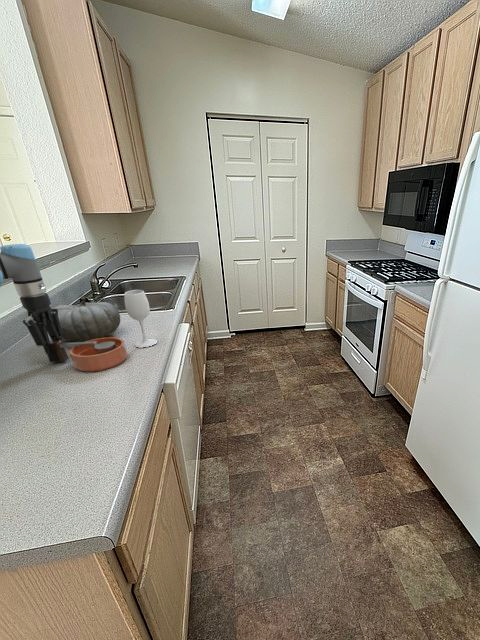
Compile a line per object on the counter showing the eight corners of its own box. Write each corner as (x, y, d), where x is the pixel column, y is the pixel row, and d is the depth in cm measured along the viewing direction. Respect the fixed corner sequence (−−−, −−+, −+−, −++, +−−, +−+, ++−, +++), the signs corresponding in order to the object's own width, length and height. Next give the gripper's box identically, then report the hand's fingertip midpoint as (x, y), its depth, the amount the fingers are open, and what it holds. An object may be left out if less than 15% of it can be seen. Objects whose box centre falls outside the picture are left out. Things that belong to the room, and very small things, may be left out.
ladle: (122, 353, 120) (116, 335, 117) (113, 361, 114) (106, 342, 111) (59, 356, 121) (51, 338, 118) (46, 364, 115) (38, 346, 112)
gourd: (93, 346, 124) (76, 300, 119) (40, 351, 130) (22, 308, 124) (136, 329, 147) (123, 290, 142) (90, 334, 153) (76, 297, 147)
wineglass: (134, 349, 127) (120, 296, 118) (134, 341, 134) (121, 290, 125) (158, 345, 130) (147, 293, 121) (157, 338, 138) (146, 288, 128)
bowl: (64, 372, 111) (58, 356, 108) (92, 352, 126) (87, 337, 123) (113, 372, 111) (108, 356, 108) (135, 351, 126) (132, 337, 123)
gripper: (26, 301, 101) (53, 369, 111) (60, 288, 114) (81, 350, 125) (2, 301, 101) (31, 369, 111) (39, 288, 115) (61, 350, 125)
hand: (57, 359), depth 118 cm, fingers closed on ladle, 2 cm apart
